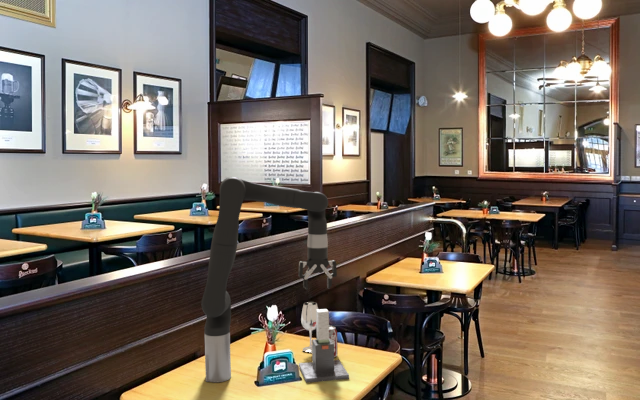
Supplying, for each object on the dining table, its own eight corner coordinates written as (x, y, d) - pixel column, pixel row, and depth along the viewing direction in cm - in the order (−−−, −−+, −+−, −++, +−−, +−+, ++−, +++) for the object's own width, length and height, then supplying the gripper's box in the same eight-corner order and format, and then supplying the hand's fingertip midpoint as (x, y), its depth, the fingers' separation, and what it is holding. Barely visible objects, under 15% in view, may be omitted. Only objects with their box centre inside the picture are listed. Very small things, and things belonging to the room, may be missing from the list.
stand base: (306, 382, 207) (305, 350, 206) (299, 367, 223) (298, 336, 222) (349, 378, 211) (348, 346, 210) (339, 363, 226) (338, 333, 225)
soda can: (318, 357, 233) (317, 328, 232) (325, 352, 239) (325, 324, 238) (333, 360, 230) (332, 330, 229) (340, 355, 236) (339, 326, 235)
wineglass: (299, 348, 245) (298, 302, 243) (317, 346, 247) (316, 300, 246) (304, 354, 237) (303, 306, 236) (322, 352, 240) (321, 305, 238)
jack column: (318, 354, 214) (318, 312, 213) (316, 350, 218) (316, 309, 217) (329, 353, 215) (328, 311, 213) (327, 350, 219) (326, 308, 217)
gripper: (300, 247, 209) (300, 291, 210) (338, 246, 211) (338, 289, 213) (297, 244, 216) (297, 287, 217) (334, 243, 219) (333, 285, 220)
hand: (317, 288), depth 215 cm, fingers open, 8 cm apart
